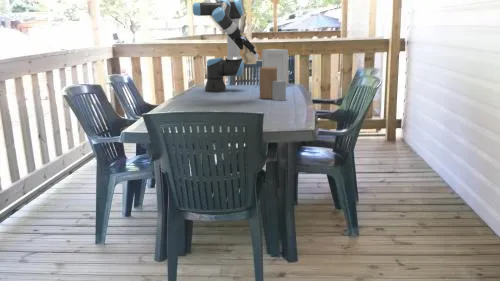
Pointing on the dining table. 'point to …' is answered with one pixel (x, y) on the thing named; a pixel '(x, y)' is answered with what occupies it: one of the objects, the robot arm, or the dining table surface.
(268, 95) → the block
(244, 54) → the oak block
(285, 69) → the white tall box
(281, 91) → the grey block
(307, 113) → the dining table surface
